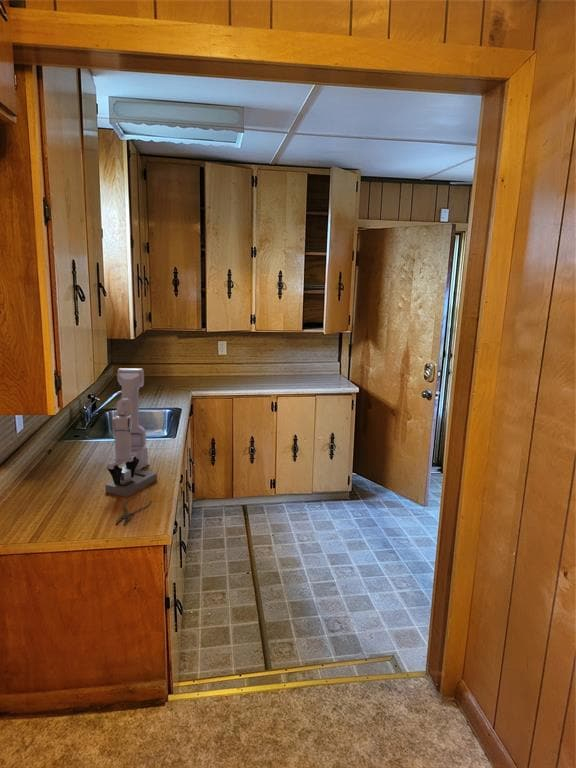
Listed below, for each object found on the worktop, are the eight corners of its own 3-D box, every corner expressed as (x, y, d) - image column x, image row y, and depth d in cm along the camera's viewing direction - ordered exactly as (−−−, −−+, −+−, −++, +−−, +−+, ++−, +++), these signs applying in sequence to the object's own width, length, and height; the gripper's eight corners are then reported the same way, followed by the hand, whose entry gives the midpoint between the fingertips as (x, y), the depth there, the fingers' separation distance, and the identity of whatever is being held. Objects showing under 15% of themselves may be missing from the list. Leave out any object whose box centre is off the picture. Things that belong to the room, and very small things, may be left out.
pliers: (152, 497, 179) (145, 523, 160) (152, 499, 179) (145, 526, 160) (125, 498, 178) (114, 524, 158) (125, 500, 178) (114, 527, 158)
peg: (123, 487, 188) (122, 467, 187) (131, 489, 187) (130, 469, 185) (115, 491, 185) (115, 471, 183) (124, 493, 183) (123, 473, 182)
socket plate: (136, 475, 200) (136, 468, 199) (156, 480, 196) (156, 473, 195) (105, 492, 183) (105, 484, 183) (126, 497, 180) (126, 489, 179)
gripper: (118, 454, 174) (119, 489, 177) (144, 443, 187) (144, 476, 190) (102, 451, 177) (104, 486, 179) (129, 440, 190) (130, 472, 192)
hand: (124, 480), depth 185 cm, fingers open, 7 cm apart
